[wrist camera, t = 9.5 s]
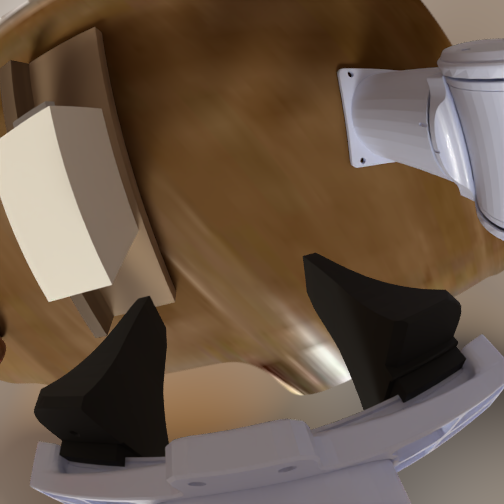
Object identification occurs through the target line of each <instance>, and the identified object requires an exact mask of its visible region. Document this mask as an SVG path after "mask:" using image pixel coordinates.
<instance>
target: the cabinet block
mask: <svg viewBox="0 0 504 504" xmlns="http://www.w3.org/2000/svg"><path fill="white" fill-rule="evenodd" d="M13 126H14V129H12V130H11V131H10V132H8V133H7V134H6V135H4V136H3V137H1V138H0V197H1V200H2V203H3V206H4V208H5V211H6V214H7V217H8V219H9V222H10V224H11V227H12V229H13V232H14V234H15V236H16V239H17V241H18V243H19V246H20V248H21V250H22V252H23V254H24V256H25V258H26V260H27V263H28V265H29V267H30V269H31V270H32V272H33V274H34V276H35V278H36V280H37V282H38V284H39V285H40V287H41V289H42V291H43V293H44V294H45V296H46V298H47V299H48V301H49V302H50V301H54V300H58V299H61V298H65V297H69V296H72V295H76V294H80V293H84V292H87V291H91V290H95V289H98V288H102V287H106V286H110V285H112V284H113V282H114V280H115V278H116V275H117V273H118V271H119V269H120V267H121V265H122V263H123V261H124V259H125V257H126V255H127V252H128V250H129V248H130V246H131V245H132V243H133V241H134V239H135V237H136V235H137V233H138V231H139V230H138V227H137V224H136V222H135V219H134V216H133V213H132V210H131V208H130V205H129V202H128V199H127V196H126V193H125V190H124V187H123V184H122V181H121V177H120V174H119V171H118V168H117V164H116V161H115V158H114V154H113V151H112V147H111V144H110V140H109V136H108V132H107V128H106V125H105V120H104V116H103V112H102V109H101V108H89V107H74V106H55V103H54V102H50V101H45V102H43V103H41V104H40V105H38V106H37V107H35V108H33V109H32V110H30V111H29V112H27V113H26V114H24V115H23V116H21V117H20V118H18V119H17V120H16V121H14V122H13Z"/></svg>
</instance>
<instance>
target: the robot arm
mask: <svg viewBox="0 0 504 504" xmlns="http://www.w3.org/2000/svg"><path fill="white" fill-rule="evenodd" d="M437 65H438V67H435V68H422V69H411V70H402V71H398V70H385V69H364V68H343V69H339V70H338V72H337V76H338V81H339V86H340V92H341V98H342V103H343V110H344V116H345V123H346V130H347V137H348V146H349V154H350V162H351V165H352V166H354V167H356V168H359V167H365V166H371V165H377V164H384V163H391V162H400V163H403V164H406V165H409V166H412V167H415V168H418V169H421V170H423V171H426V172H429V173H432V174H434V175H437V176H440V177H442V178H445V179H447V180H450V181H452V182H455V183H456V184H457V186H458V187H459V190H460V193H461V195H462V196H464V197H467V198H469V199H471V200H473V201H475V206H476V213H477V216H478V218H479V220H480V222H481V224H482V225H483V226H484V227H485V228H486V229H487V230H488V231H489V232H490V233H491V234H493V235H494V236H496V237H498V238H500V239H502V240H504V39H485V40H476V41H470V42H465V43H461V44H457V45H453V46H450V47H448V48H446V49H444V50H443V51H442V54H441V56H440V58H439V59H438V61H437ZM348 72H350V73H351V77H349V76H348ZM361 158H363V162H362V163H361V162H360V160H361ZM303 262H304V270H305V279H306V288H307V293H308V296H309V298H310V300H311V302H312V305H313V307H314V309H315V311H316V312H317V314H318V316H319V317H320V319H321V320H322V322H323V324H324V325H325V327H326V328H327V330H328V332H329V333H330V335H331V336H332V338H333V340H334V341H335V343H336V345H337V347H338V348H339V350H340V353H341V355H342V357H343V359H344V361H345V364H346V366H347V368H348V371H349V373H350V375H351V378H352V380H353V383H354V385H355V388H356V390H357V393H358V395H359V398H360V401H361V404H362V407H363V410H364V411H361V412H359V413H356V414H354V415H352V416H349V417H347V418H344V419H341V420H338V421H336V422H333V423H330V424H327V425H324V426H321V427H318V428H315V429H312V430H310V427H309V426H308V425H307V424H306V423H305V422H304V421H301V420H294V419H282V420H276V421H268V422H265V423H260V424H256V425H251V426H247V427H242V428H237V429H232V430H226V431H220V432H214V433H208V434H201V435H194V436H187V437H183V438H178V439H174V440H173V441H172V442H170V443H169V442H168V436H167V429H166V422H165V412H164V399H163V382H164V371H165V360H166V349H167V338H166V327H165V325H164V323H163V321H162V319H161V317H160V315H159V313H158V311H157V309H156V307H155V305H154V303H153V301H152V299H151V297H150V296H146V297H142V298H138V299H137V300H136V301H135V303H134V304H133V305H132V306H131V307H130V309H129V310H128V311H127V313H126V314H125V315H124V316H123V318H122V319H121V320H120V321H119V323H118V324H117V325H116V327H115V328H114V329H113V330H112V331H111V333H110V334H109V335H108V336H107V337H106V339H105V340H104V341H103V342H102V343H101V344H100V345H99V346H98V347H97V348H96V349H95V350H94V351H93V352H92V353H91V354H90V355H89V356H88V357H87V358H86V359H84V360H83V361H82V362H81V363H80V364H79V365H78V366H76V367H75V368H74V369H72V370H71V371H70V372H68V373H67V374H66V375H64V376H63V377H61V378H60V379H58V380H57V381H55V382H53V383H51V384H50V385H48V386H46V387H45V388H43V389H41V391H40V394H39V397H38V400H37V403H36V406H35V409H34V413H35V416H36V418H37V419H38V420H39V422H40V423H41V424H42V425H44V426H45V427H46V428H47V429H48V430H49V431H51V432H52V433H53V434H55V435H56V436H57V437H58V438H60V439H61V440H62V444H61V446H60V445H57V444H54V443H48V442H42V441H39V442H38V445H37V449H36V454H35V458H34V464H33V469H32V474H31V480H30V486H31V487H32V488H34V489H36V490H38V491H40V492H41V493H43V494H45V495H47V496H49V497H51V498H54V499H56V500H58V501H60V502H62V503H64V504H411V502H410V500H409V498H408V496H407V493H406V492H405V489H404V487H403V485H402V483H401V481H400V479H399V476H398V474H397V472H399V471H400V470H402V469H404V468H406V467H407V466H409V465H411V464H412V463H414V462H416V461H417V460H419V459H421V458H422V457H424V456H425V455H427V454H428V453H430V452H431V451H433V450H434V449H436V448H437V447H439V446H440V445H441V444H443V443H444V442H445V441H447V440H448V439H450V438H451V437H452V436H454V435H455V434H456V433H457V432H459V431H460V430H461V429H463V428H464V427H465V426H466V425H468V424H469V423H470V422H472V421H473V420H474V419H475V418H476V417H477V416H479V415H480V414H481V413H482V412H484V411H485V410H486V409H487V408H488V407H489V406H490V405H491V404H492V402H494V400H495V399H496V398H497V397H498V395H499V394H500V393H501V391H502V390H503V389H504V357H503V356H502V355H501V354H500V353H499V351H497V349H496V348H495V347H494V346H493V345H492V344H491V343H490V342H489V340H488V339H487V338H486V337H485V336H484V335H479V336H478V337H477V338H475V339H474V340H473V341H471V342H470V343H468V344H467V345H466V346H465V347H463V349H462V350H461V351H459V349H458V348H457V347H456V346H457V344H458V341H457V340H456V339H455V338H454V333H455V331H456V328H457V325H458V322H459V319H460V316H461V305H460V303H459V302H458V301H457V300H456V299H455V298H454V297H453V296H452V295H451V294H450V293H449V292H447V291H446V290H432V289H418V288H410V287H403V286H398V285H394V284H389V283H385V282H382V281H379V280H375V279H372V278H369V277H366V276H364V275H361V274H359V273H356V272H354V271H352V270H349V269H347V268H345V267H343V266H341V265H339V264H337V263H335V262H333V261H331V260H329V259H327V258H325V257H323V256H321V255H319V254H317V253H313V254H309V255H305V256H303Z"/></svg>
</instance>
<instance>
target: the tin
mask: <svg viewBox="0 0 504 504" xmlns="http://www.w3.org/2000/svg"><path fill="white" fill-rule="evenodd" d="M5 352H6V345H5V343H4V341H3V340H2V338H1V337H0V363H1V362H2V360H3V358H4V355H5Z"/></svg>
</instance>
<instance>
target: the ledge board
mask: <svg viewBox="0 0 504 504" xmlns="http://www.w3.org/2000/svg"><path fill="white" fill-rule="evenodd" d="M0 89H1V98H2V105H3V112H4V118H5V124H6V129H7V133H8V132H10V131H11V130H12V129H14V126H13V122H14V121H16V120H17V119H18V118H20V117H21V116H23V115H24V114H26V113H27V112H29V111H30V110H32V109H33V108H35V107H37V106H38V105H40V104H41V103H43V102H45V101H50V102H54V103H55V106H74V107H89V108H101V109H102V112H103V116H104V120H105V125H106V128H107V132H108V136H109V140H110V144H111V147H112V151H113V154H114V158H115V161H116V164H117V168H118V171H119V174H120V177H121V181H122V184H123V187H124V190H125V193H126V196H127V199H128V202H129V205H130V208H131V210H132V213H133V216H134V219H135V222H136V224H137V227H138V230H139V231H138V233H137V235H136V237H135V239H134V241H133V243H132V245H131V246H130V248H129V250H128V252H127V255H126V257H125V259H124V261H123V263H122V265H121V267H120V269H119V271H118V273H117V275H116V278H115V280H114V282H113V284H112V285H110V286H106V287H102V288H98V289H95V290H91V291H87V292H84V293H80V294H76V295H72V296H70V298H71V299H72V301H73V303H74V304H75V306H76V308H77V309H78V311H79V313H80V314H81V316H82V318H83V319H84V321H85V322H86V324H87V326H88V327H89V329H90V330H91V332H92V333H93V335H94V336H95V338H97V337H103V336H107V335H108V332H109V329H110V326H111V323H112V320H113V317H114V316H116V315H121V314H125V313H127V311H128V310H129V309H130V307H131V306H132V305H133V304H134V303H135V301H136V300H137V299H138V298H142V297H146V296H150V297H151V299H152V301H153V303H154V305H155V307H156V306H160V305H165V304H169V303H173V302H175V297H176V290H175V288H174V285H173V283H172V280H171V278H170V275H169V273H168V270H167V268H166V265H165V263H164V260H163V258H162V255H161V252H160V250H159V247H158V244H157V242H156V239H155V236H154V234H153V231H152V228H151V225H150V222H149V219H148V217H147V214H146V211H145V208H144V205H143V202H142V199H141V196H140V193H139V189H138V186H137V183H136V180H135V177H134V173H133V170H132V167H131V163H130V160H129V156H128V153H127V149H126V145H125V142H124V138H123V134H122V130H121V126H120V123H119V118H118V114H117V110H116V106H115V101H114V97H113V92H112V88H111V83H110V78H109V73H108V67H107V62H106V56H105V50H104V44H103V37H102V32H101V31H100V30H98V29H97V28H96V27H93V28H91V29H89V30H87V31H85V32H83V33H81V34H79V35H77V36H75V37H73V38H71V39H69V40H67V41H65V42H64V43H62V44H60V45H58V46H56V47H55V48H53V49H51V50H50V51H48V52H46V53H45V54H43V55H41V56H40V57H38V58H37V59H35V60H34V61H32V62H31V63H29V64H27V63H22V62H17V61H12V60H10V61H9V62H8V63H6V64H5V65H4V66H3V67H1V68H0Z"/></svg>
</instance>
